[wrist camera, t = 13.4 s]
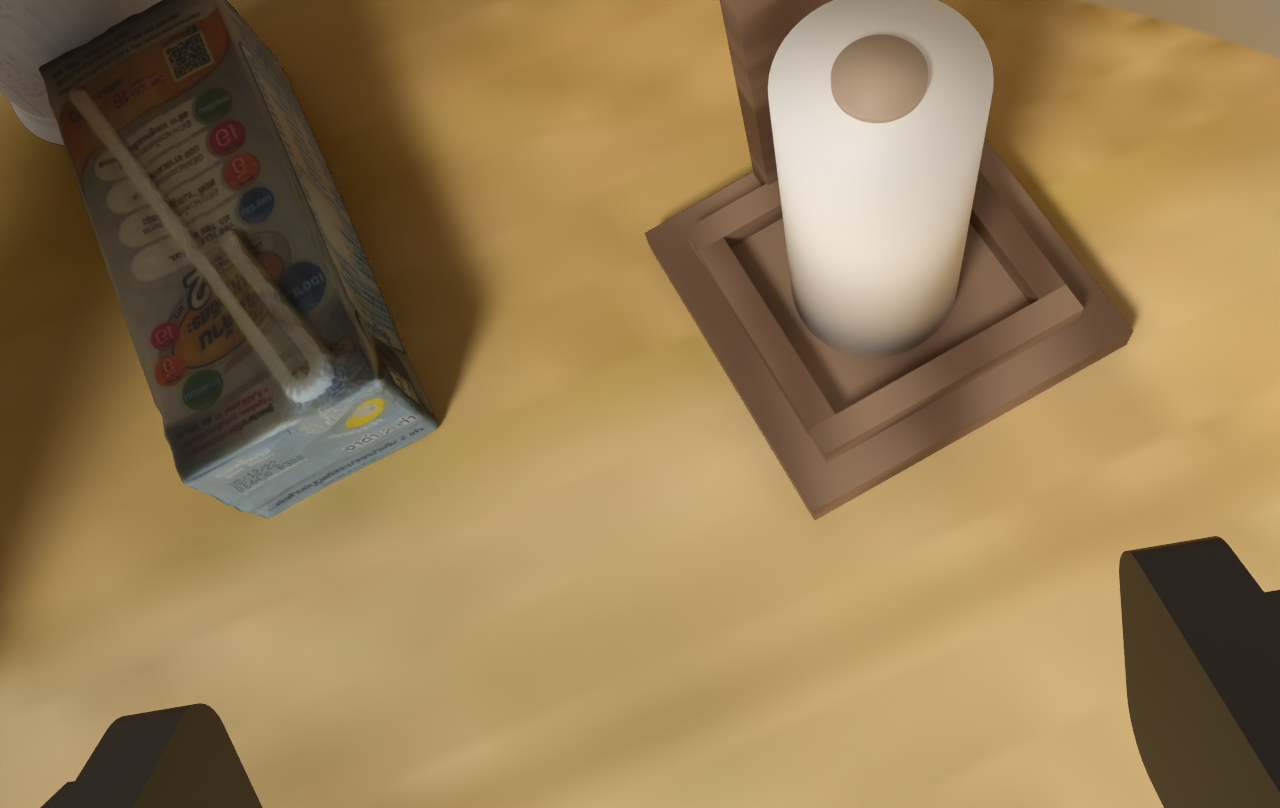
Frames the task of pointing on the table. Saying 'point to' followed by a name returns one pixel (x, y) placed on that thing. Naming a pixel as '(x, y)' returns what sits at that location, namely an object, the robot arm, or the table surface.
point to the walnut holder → (873, 387)
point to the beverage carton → (232, 258)
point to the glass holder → (48, 48)
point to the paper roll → (878, 166)
